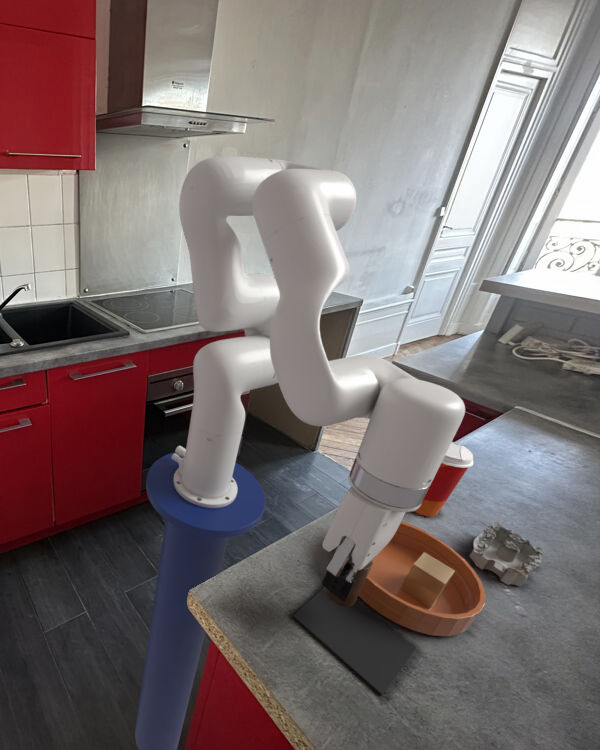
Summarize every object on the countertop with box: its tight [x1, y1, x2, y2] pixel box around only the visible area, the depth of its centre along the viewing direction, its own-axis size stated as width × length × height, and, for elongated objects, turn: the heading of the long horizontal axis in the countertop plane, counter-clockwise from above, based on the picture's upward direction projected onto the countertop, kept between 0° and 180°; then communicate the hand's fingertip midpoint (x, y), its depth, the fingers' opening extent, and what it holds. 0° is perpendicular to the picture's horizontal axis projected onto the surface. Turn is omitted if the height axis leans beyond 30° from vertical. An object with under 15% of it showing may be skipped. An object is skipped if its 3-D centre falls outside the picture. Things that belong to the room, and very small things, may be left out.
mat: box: [292, 586, 417, 697], centre depth 57 cm, size 12×10×1 cm
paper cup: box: [413, 441, 474, 518], centre depth 77 cm, size 8×8×14 cm
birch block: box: [401, 552, 455, 608], centre depth 62 cm, size 4×4×6 cm
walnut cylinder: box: [323, 560, 373, 607], centre depth 56 cm, size 4×4×8 cm
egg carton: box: [468, 520, 544, 587], centre depth 69 cm, size 11×8×4 cm
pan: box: [336, 521, 487, 637], centre depth 64 cm, size 18×18×4 cm
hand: (343, 582), depth 57 cm, fingers closed on walnut cylinder, 4 cm apart
